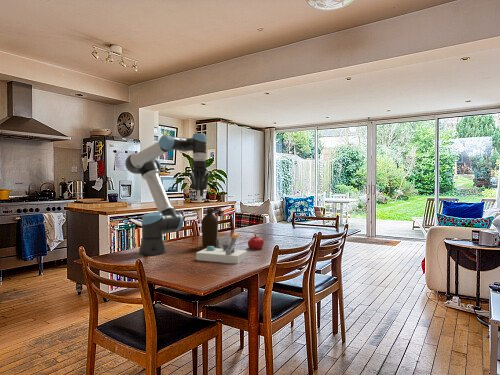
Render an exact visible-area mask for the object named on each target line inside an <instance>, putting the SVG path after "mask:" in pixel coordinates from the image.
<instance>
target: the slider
mask: <svg viewBox="0 0 500 375" xmlns="http://www.w3.org/2000/svg"><path fill="white" fill-rule="evenodd" d="M226 249H229V244H224V245H223V250H226Z"/></svg>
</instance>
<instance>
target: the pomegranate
mask: <svg viewBox="0 0 500 375" xmlns="http://www.w3.org/2000/svg"><path fill="white" fill-rule="evenodd" d="M247 247H248V248H249V249H250V250H261V249H262V248H263V247H264V239H263V238H261V236H257V234H256V233H254V235H251V237H250V239H248V241H247Z"/></svg>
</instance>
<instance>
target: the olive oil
mask: <svg viewBox="0 0 500 375" xmlns="http://www.w3.org/2000/svg"><path fill="white" fill-rule="evenodd" d="M206 210H207V211H206V214H205V215H204V216H203V217H202V220H201V224H200V225H201V238H202V239H201V241H202V242H201V244H202V248H204V249H206V248H207V246H214V248H217V246H216V241H215V240H217V239H218V231H219V222H218V218H217V217H216V216H215V214H214V213H213V208H212V207H207V208H206Z"/></svg>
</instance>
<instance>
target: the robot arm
mask: <svg viewBox="0 0 500 375" xmlns="http://www.w3.org/2000/svg"><path fill="white" fill-rule="evenodd" d="M171 151H179V152H185V153H187V152H192V160H193V161H192V170H191V172H189V173H188V175H189V177H190V181H191V187H192V189H193V190H195V196H196V198H197V200H196V201H197V203H202V201H203V197H202V196H204V190H207V186H208V181H209V178H210V176H211V172H209V171H207V162H206V161H207V135H206V134H205V133H203V132H201V133H198V132H197V133H196V132H195V133H193V134H192V137H189V138H188V137H182V136H181V137H179V136H173V135H161V137H160V138H159V140H158V141H157V142H155V143H154V144H151V145H150V146H148V147H146V148H144V149H143V150H140V151H139V152H135V153H134V152H133V153H132V154H130V155H128V157H126V159H125V162H124V163H125V164H124V165H125V168H126V169H127V170H128V172H130V173H132V174H133V175H134V174H136V175H137V174H138V175H140V176H141V178H142V179H143V180H145V181H146V183H147V186H148V189H149V192H150V194H151V196H152V199H153V201H154V204H155V206H156V209H157V211H154V212H148V213H145V214H143V215H142V216H141V217H142V218H141V243H140V246H139V248H138V254H139V255H141V254H142V256H156V255H163V254H165V253H166V252H167V249H166V245H165V242H164V239H163V238H164V237H163V235H164V234H167V233H168V234H169V233H174V232H177V231H179V230H181V229H182V227H183V225H184V217H183V215H182V213H180V212H177V210H176V208H175V207H174V206H172V204H171V203H170V200H169V196H168V194H167V192H166V190H165V189H166V188H165V187H164V184H163V183H162V180H161V177H160V174H161V170H162V164H161V162H160V160H159V159H158V158H159V157H161V156H162V155H165V154H166V153H168V152H171Z"/></svg>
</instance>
